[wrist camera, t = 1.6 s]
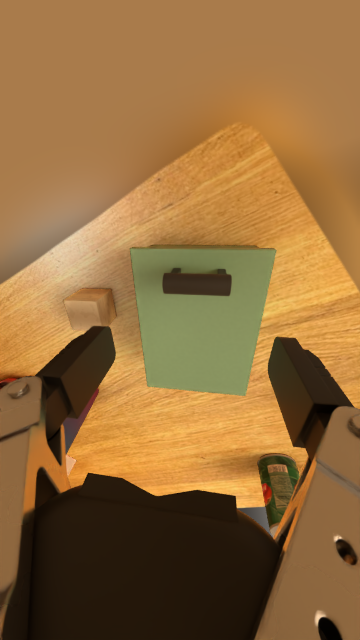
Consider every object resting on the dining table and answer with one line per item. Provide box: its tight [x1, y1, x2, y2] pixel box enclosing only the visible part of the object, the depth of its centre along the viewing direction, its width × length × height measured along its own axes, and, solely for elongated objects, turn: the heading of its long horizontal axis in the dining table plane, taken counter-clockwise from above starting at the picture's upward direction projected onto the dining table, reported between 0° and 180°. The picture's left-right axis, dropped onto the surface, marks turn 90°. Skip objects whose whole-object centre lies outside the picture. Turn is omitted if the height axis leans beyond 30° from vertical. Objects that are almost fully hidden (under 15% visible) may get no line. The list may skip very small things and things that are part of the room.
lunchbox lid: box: [130, 247, 276, 396], centre depth 20 cm, size 17×13×5 cm
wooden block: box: [63, 288, 116, 331], centre depth 28 cm, size 4×4×4 cm
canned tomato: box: [258, 454, 300, 536], centre depth 39 cm, size 8×8×11 cm
